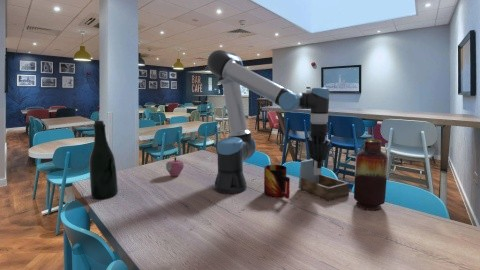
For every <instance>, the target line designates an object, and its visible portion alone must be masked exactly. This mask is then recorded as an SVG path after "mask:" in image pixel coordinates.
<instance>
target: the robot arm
mask: <svg viewBox="0 0 480 270" xmlns="http://www.w3.org/2000/svg"><path fill="white" fill-rule="evenodd" d="M206 63H207V69H208V70H209V71H210V73H212V74H213V75H214V76H217V79H218V83H219V84H221V85H222V90H223V95H224V100H225V107H226V111H227V114H226V115H227V118H228V124H229V130H230V132H229V134H228V135H227V137H223V138H221V139H219V140H218V141H217V147H216V151H217V152H216V153H217V174H216V177H215V181H214V187H213V188H214V190H215V192H219V193H221V194H222V193H223V194H237V193H242V192H244V191H246V190H247V181H246V178H245V175H244V167H243V166H244V163H243V162H244V161H247V160H248V159H250V158H251V157H252V156H253V155H254V154H255V152H256V151H257V150H256V149H257V144H256V141H255V139H254V138H253V137H252V133H251V132H252V131H250V130H249V129H248V126H247V119H246V114H245V108H244V101H243V96H242V89H241V87H243V88H245V89H247V90H249V91H251V92H253V93H255V94H256V95H258V96H260V97H263V98H264V99H266V100H268V101H269V102H272V103H274V104H275V105H277V106H278V107H280V108H281V110H283V111H286V112H293V111H297V110H310V120H309V121H310V124H309V125H310V126H309V131H310V135H309V136H306V138H305V140H306V141H307V145H308V146H307V147H308V153H309V154H308V155H309V159H313V167H314V175H320V170H321V171H322V168H323V167H322V165H323V161H326V160H327V155H328V153H329V148H330V145H331V144H332V140H331V139H329V138H328V135H327V133H328V130H329V124H328V122H329V108H330V90H329V88H328V87H313V88H311V91H310V92H294V91H292V90H290V89H288V88H285V87H283V86H281V85H279V84H278V83H275V82H274V81H272V80H270V79H268V78H266V77H264V76H262V75H260V74H258V73H256V72H254V71H252V70H251V69H249V68H247V67H244V64H243V63H244V62H243V61H242V59H241V57H240V56H238V55H237V54H235V53H232V52H228V51H225V50H223V49H222V50H221V49H219V50H214V51H212V52H211V53H210V54H209V56H208V57H207V61H206ZM321 167H322V168H321Z"/></svg>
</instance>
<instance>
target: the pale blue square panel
mask: <svg viewBox="0 0 480 270" xmlns="http://www.w3.org/2000/svg"><path fill="white" fill-rule="evenodd" d="M299 166H300V169H299V177H298V179H299V180H298V188H297V189H299V190H301V178H303V179H306V180H309V181H312V182H315V183H317V184H319V175H314V167H313V159H312V158H309V159H306V160H300V165H299ZM322 168H323V167H321V170H320V174H322Z"/></svg>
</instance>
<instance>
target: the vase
mask: <svg viewBox="0 0 480 270" xmlns="http://www.w3.org/2000/svg"><path fill="white" fill-rule="evenodd" d="M354 165H355V167H354V169H355V170H354V184H353V199H354V201H355V202H356V203H355V205H356V207H357V208H360V209H362V210H366V211H372V212H376V211H381V210H382V205H383V204H385V201H386V192H387V180H388V179H387V178H388V169H389V167H388V165H389V156H388V155H387V154H386V153H384V152H383V151H382V140H380V139H373V138H372V139H371V138H370V139H369V138H367V139H364V141H363V150H361V151H359V152H357V153H356V156H355V164H354Z"/></svg>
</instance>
